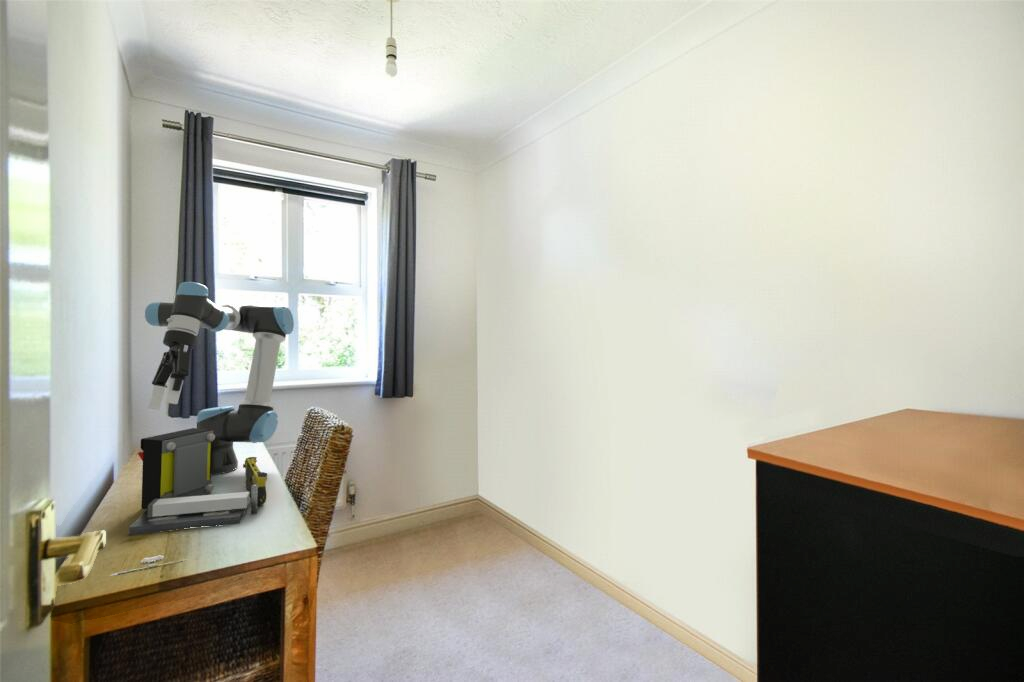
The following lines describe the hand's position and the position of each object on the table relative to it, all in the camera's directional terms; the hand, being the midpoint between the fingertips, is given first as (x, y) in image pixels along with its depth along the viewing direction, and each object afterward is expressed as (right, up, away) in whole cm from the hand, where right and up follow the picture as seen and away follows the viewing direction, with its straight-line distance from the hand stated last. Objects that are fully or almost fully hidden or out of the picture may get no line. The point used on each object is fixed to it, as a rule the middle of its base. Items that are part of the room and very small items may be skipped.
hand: (162, 406), depth 128 cm
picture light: (+17, -31, -26) cm, 44 cm away
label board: (+11, -31, -1) cm, 32 cm away
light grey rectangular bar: (+11, -28, -1) cm, 30 cm away
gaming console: (+15, -31, +19) cm, 39 cm away
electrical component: (-5, -30, +14) cm, 34 cm away
